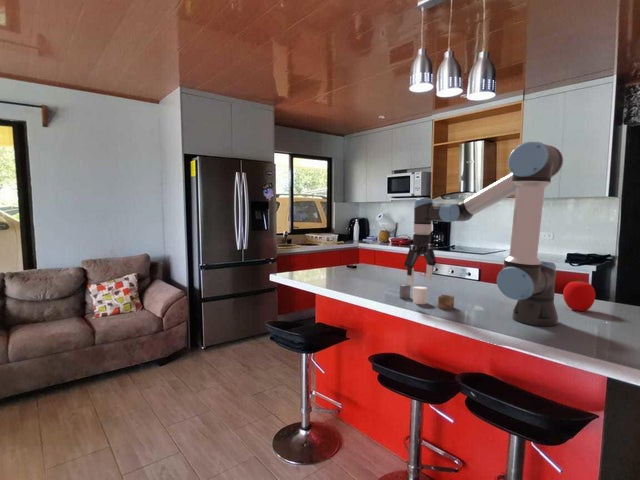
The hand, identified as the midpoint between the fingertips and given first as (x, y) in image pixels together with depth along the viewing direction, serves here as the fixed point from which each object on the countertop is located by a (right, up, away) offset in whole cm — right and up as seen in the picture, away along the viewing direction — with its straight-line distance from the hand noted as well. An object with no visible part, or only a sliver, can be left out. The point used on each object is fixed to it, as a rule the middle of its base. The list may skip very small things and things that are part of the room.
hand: (419, 281), depth 167 cm
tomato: (+64, -12, -10) cm, 66 cm away
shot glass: (0, -10, +1) cm, 10 cm away
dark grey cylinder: (-5, -9, +10) cm, 14 cm away
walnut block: (+9, -11, -8) cm, 16 cm away
